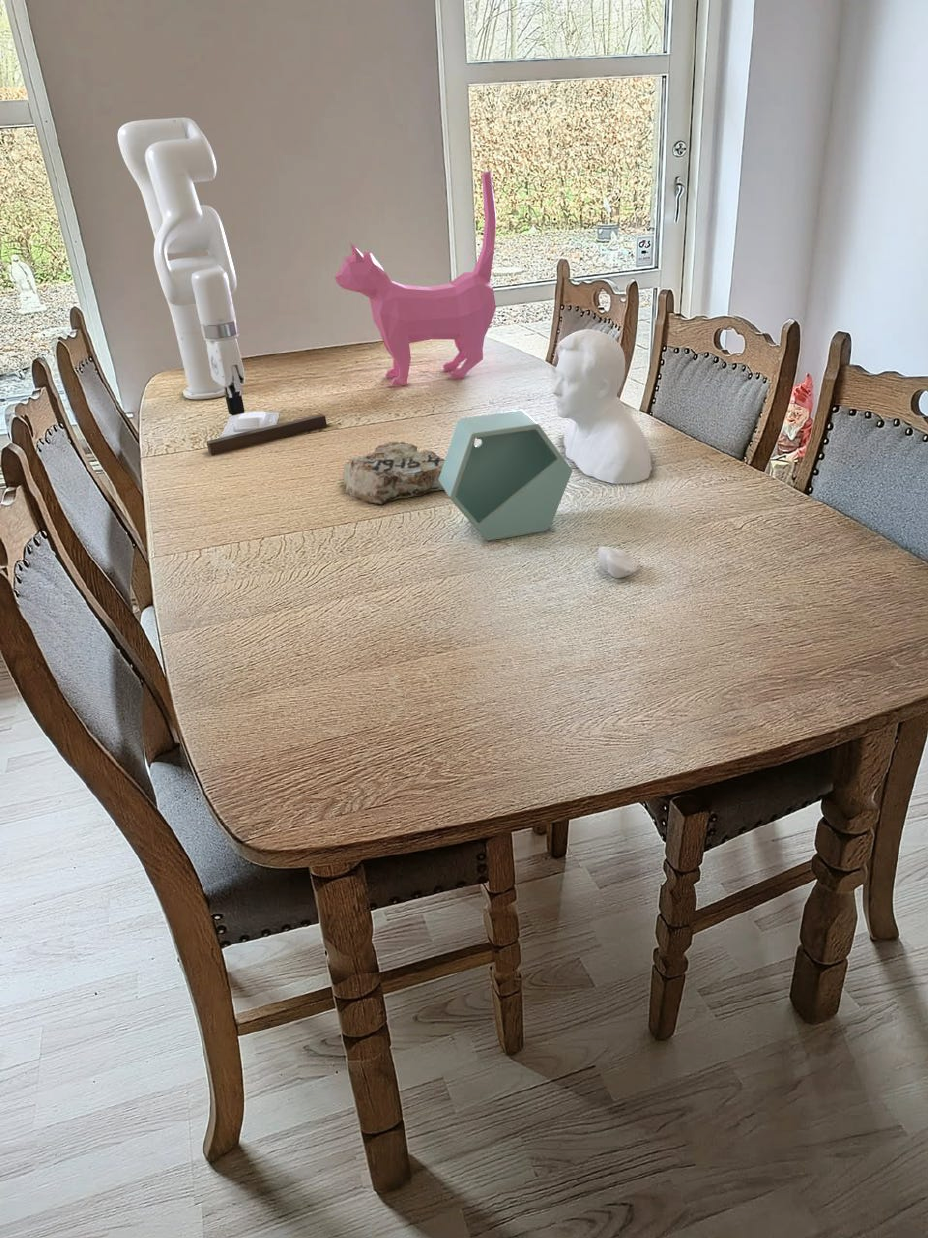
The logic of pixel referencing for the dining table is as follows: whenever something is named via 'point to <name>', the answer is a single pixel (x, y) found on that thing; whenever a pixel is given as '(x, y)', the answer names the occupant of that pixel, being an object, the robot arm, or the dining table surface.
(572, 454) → the bust
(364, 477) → the stone
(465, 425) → the planter
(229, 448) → the back rail
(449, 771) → the dining table surface
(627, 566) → the dumpling
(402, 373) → the cat
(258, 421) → the light switch
